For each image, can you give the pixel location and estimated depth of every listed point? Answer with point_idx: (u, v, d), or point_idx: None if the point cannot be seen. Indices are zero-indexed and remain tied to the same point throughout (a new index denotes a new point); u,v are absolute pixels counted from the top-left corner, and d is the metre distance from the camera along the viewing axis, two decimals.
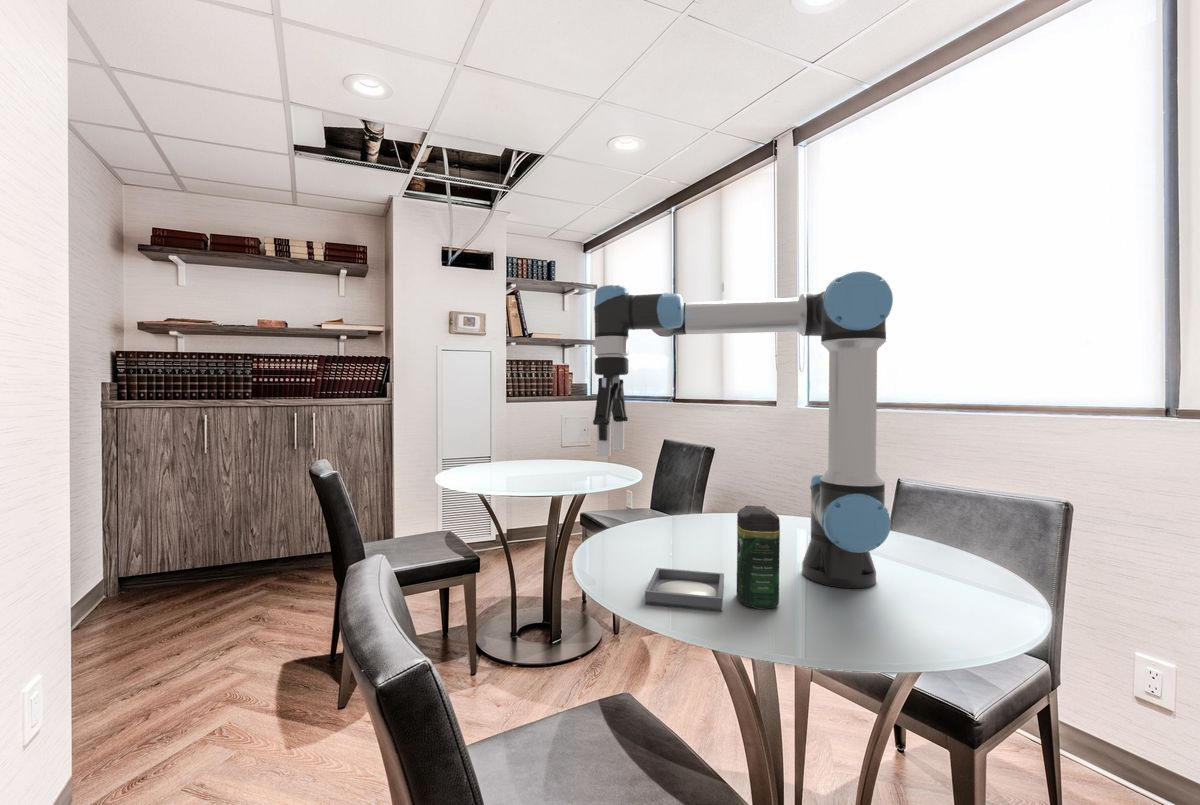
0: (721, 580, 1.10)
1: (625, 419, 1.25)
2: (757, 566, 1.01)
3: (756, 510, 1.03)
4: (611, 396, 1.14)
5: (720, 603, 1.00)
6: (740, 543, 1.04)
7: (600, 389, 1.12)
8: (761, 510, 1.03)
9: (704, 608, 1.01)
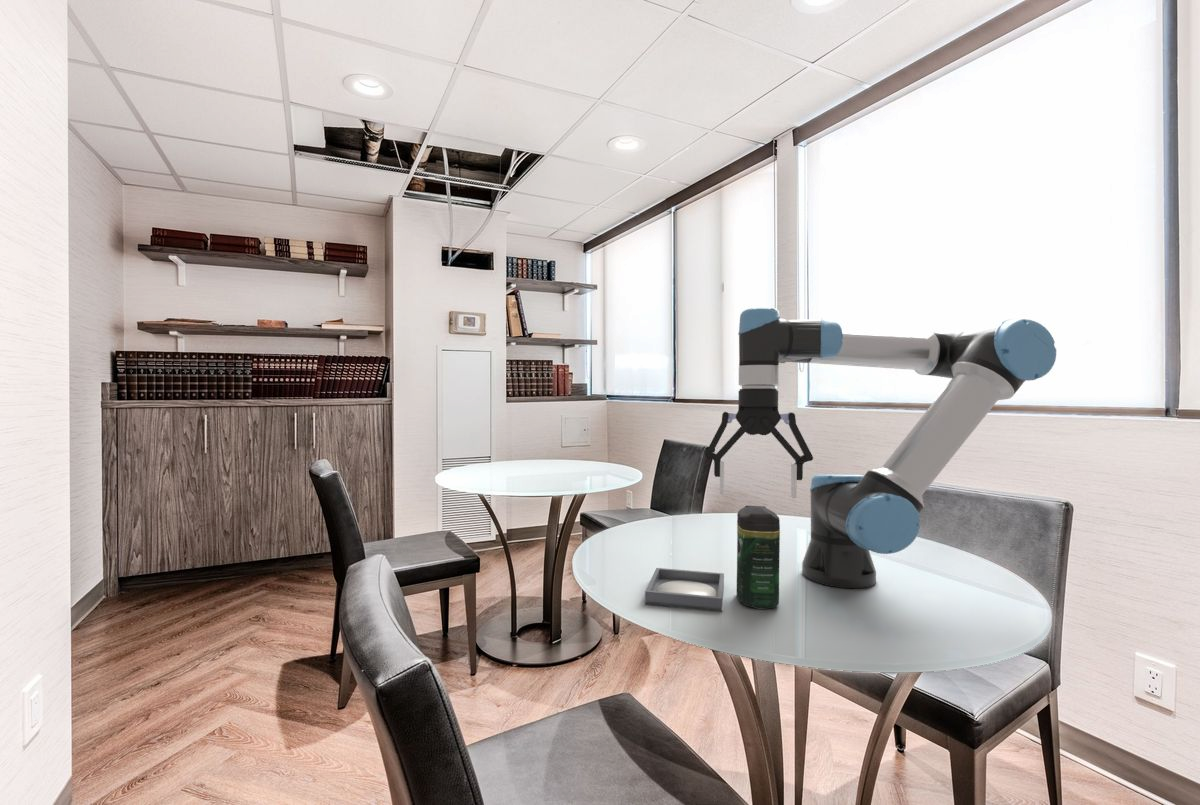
0: (721, 580, 1.10)
1: (798, 462, 1.02)
2: (757, 566, 1.01)
3: (756, 510, 1.03)
4: (736, 431, 1.05)
5: (720, 603, 1.00)
6: (740, 543, 1.04)
7: None
8: (761, 510, 1.03)
9: (704, 608, 1.01)
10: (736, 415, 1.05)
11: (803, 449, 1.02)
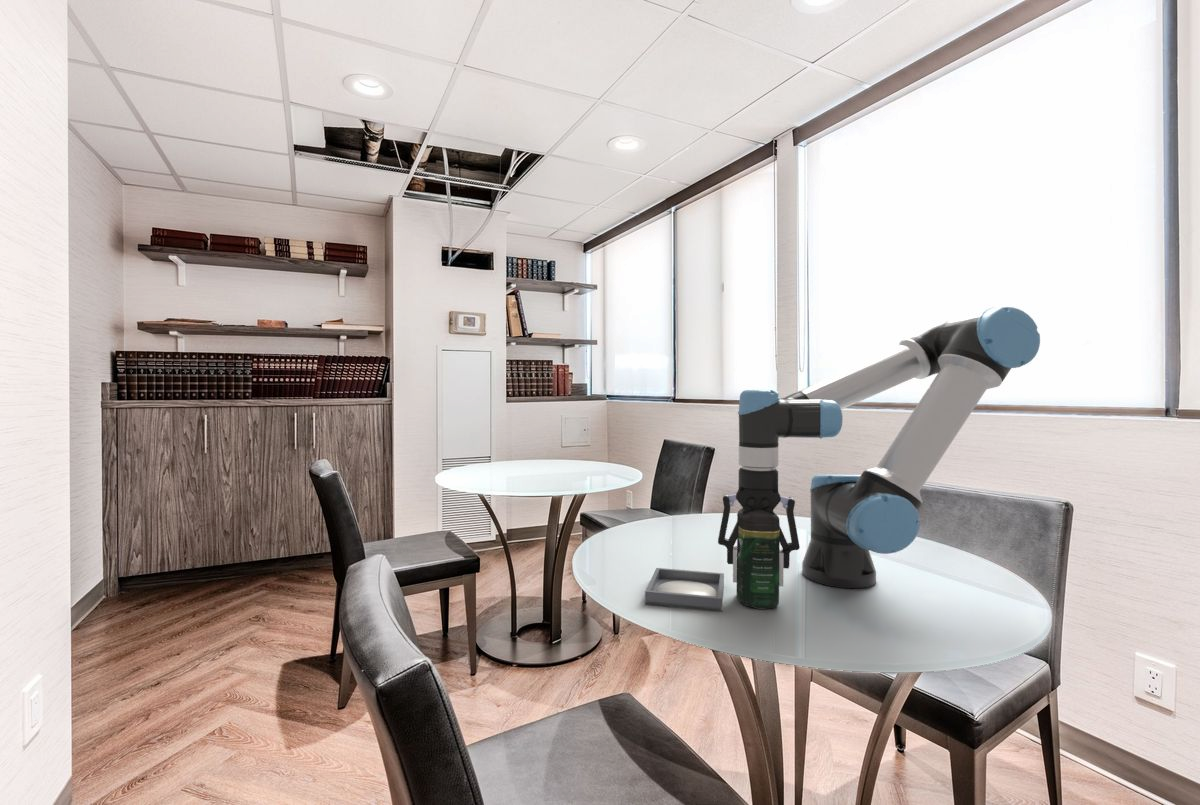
0: (721, 580, 1.10)
1: (785, 550, 1.03)
2: (757, 566, 1.01)
3: (756, 510, 1.03)
4: None
5: (720, 603, 1.00)
6: (740, 543, 1.04)
7: None
8: (761, 510, 1.03)
9: (704, 608, 1.01)
10: (736, 496, 1.06)
11: (792, 537, 1.03)
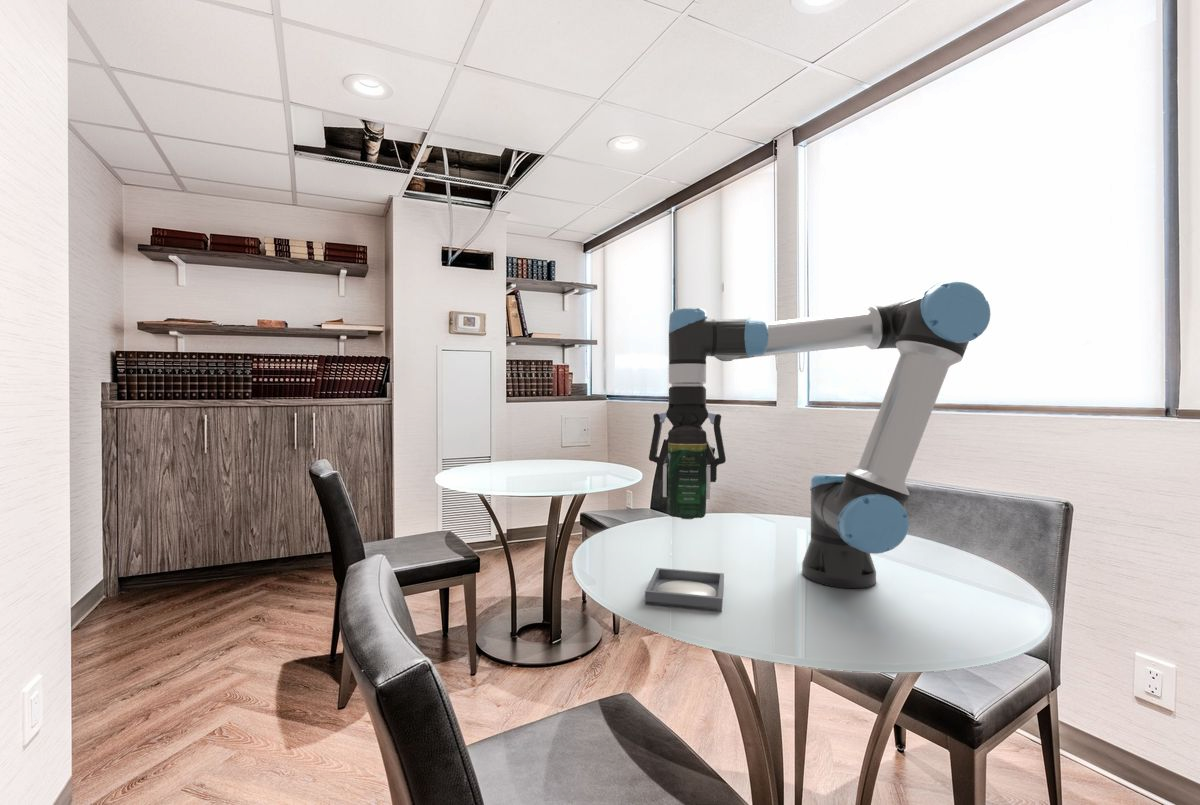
0: (721, 580, 1.10)
1: (711, 464, 1.06)
2: (683, 478, 1.05)
3: (684, 425, 1.07)
4: None
5: (720, 603, 1.00)
6: (669, 457, 1.07)
7: None
8: (689, 425, 1.07)
9: (704, 608, 1.01)
10: (666, 414, 1.09)
11: (719, 451, 1.06)
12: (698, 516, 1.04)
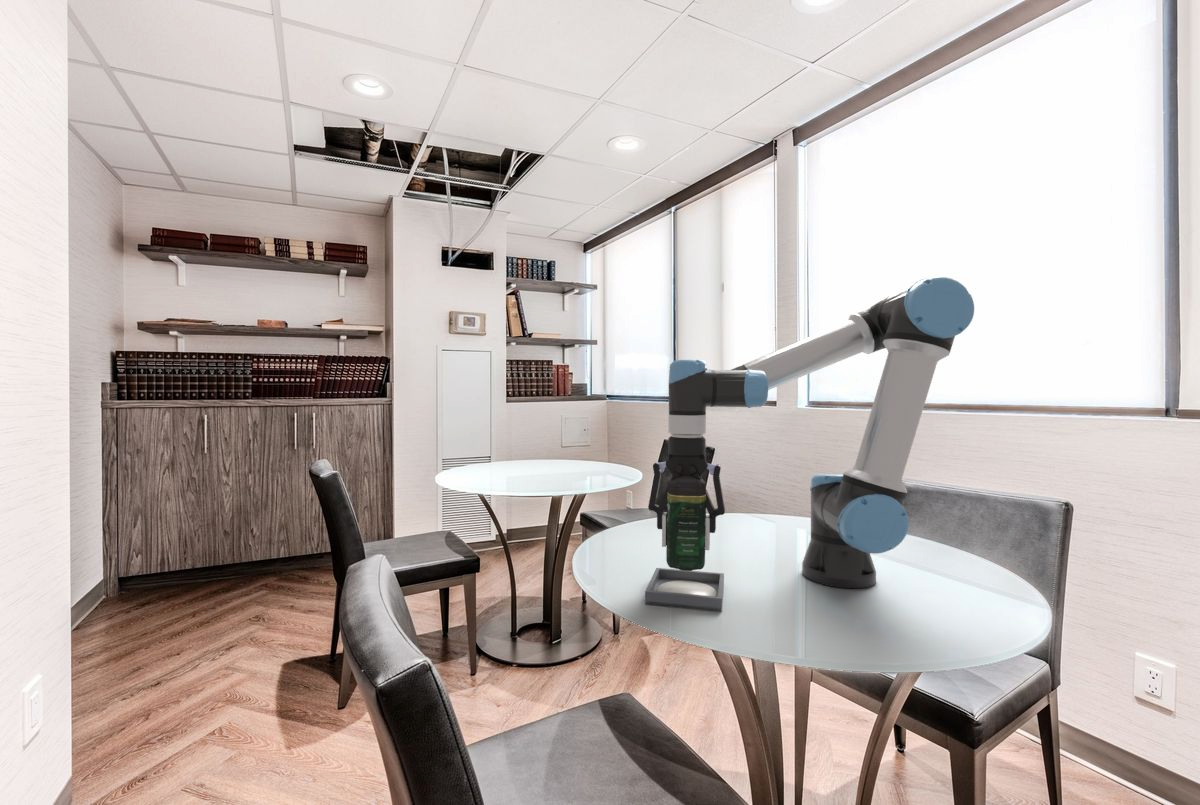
0: (721, 580, 1.10)
1: (710, 515, 1.06)
2: (682, 529, 1.05)
3: (683, 476, 1.07)
4: None
5: (720, 603, 1.00)
6: (668, 508, 1.07)
7: None
8: (688, 476, 1.07)
9: (704, 608, 1.01)
10: (666, 463, 1.09)
11: (718, 502, 1.06)
12: (697, 568, 1.04)
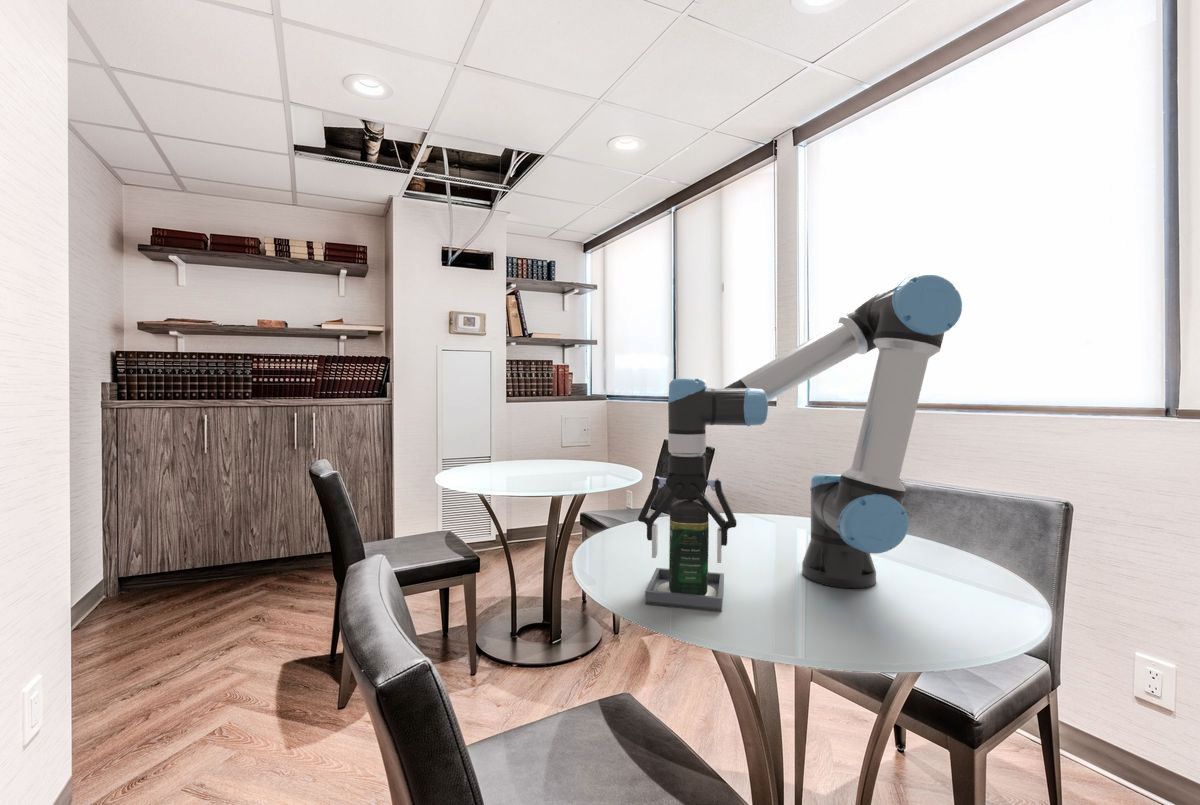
0: (721, 580, 1.10)
1: (722, 528, 1.06)
2: (685, 556, 1.05)
3: (686, 503, 1.07)
4: (666, 497, 1.09)
5: (720, 603, 1.00)
6: (670, 534, 1.07)
7: None
8: (691, 503, 1.07)
9: (704, 608, 1.01)
10: (666, 480, 1.09)
11: (727, 516, 1.06)
12: None
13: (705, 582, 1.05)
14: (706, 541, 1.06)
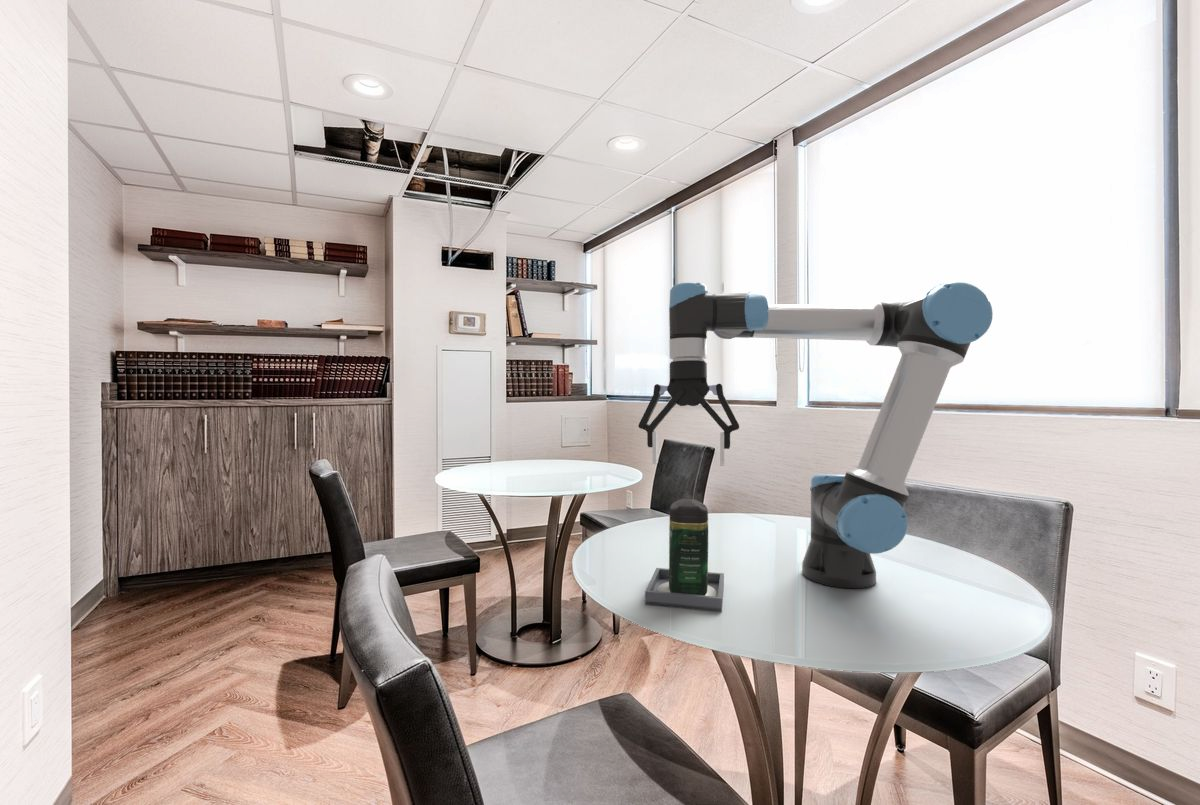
0: (721, 580, 1.10)
1: (725, 430, 1.06)
2: (685, 556, 1.05)
3: (685, 503, 1.07)
4: None
5: (720, 603, 1.00)
6: (670, 535, 1.07)
7: None
8: (690, 503, 1.07)
9: (704, 608, 1.01)
10: (667, 387, 1.09)
11: (730, 418, 1.06)
12: None
13: (705, 582, 1.05)
14: (706, 541, 1.06)
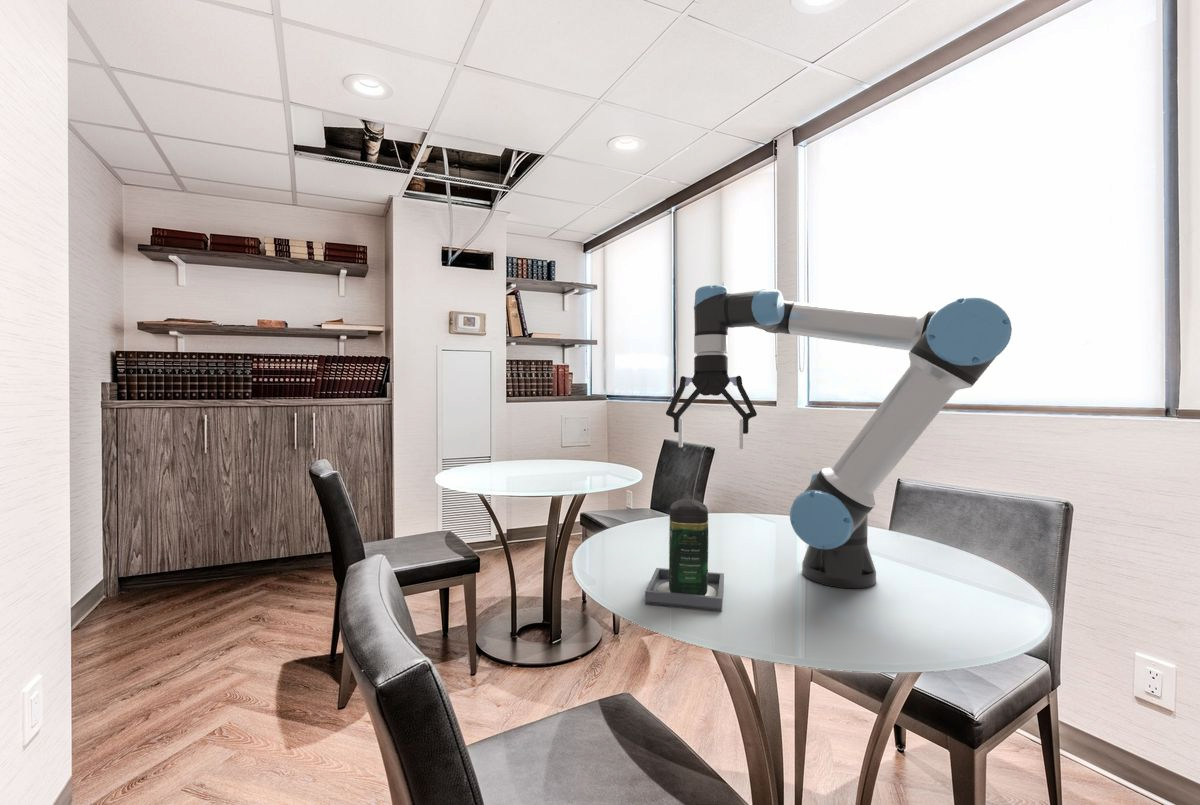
0: (721, 580, 1.10)
1: (744, 417, 1.19)
2: (685, 556, 1.05)
3: (685, 503, 1.07)
4: (692, 393, 1.22)
5: (720, 603, 1.00)
6: (670, 535, 1.07)
7: None
8: (690, 503, 1.07)
9: (704, 608, 1.01)
10: (692, 379, 1.22)
11: (748, 407, 1.19)
12: None
13: (705, 582, 1.05)
14: (706, 541, 1.06)
